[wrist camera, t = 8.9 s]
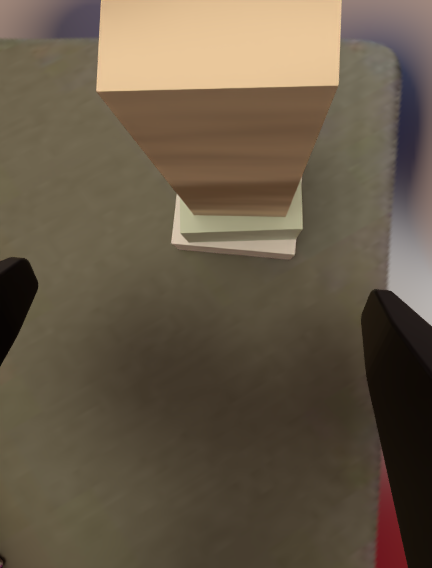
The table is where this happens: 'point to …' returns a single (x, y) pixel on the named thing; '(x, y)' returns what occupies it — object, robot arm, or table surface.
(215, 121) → the pillar
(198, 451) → the table surface
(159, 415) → the table surface
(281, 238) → the tower top
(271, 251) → the tower bottom
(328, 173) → the table surface
